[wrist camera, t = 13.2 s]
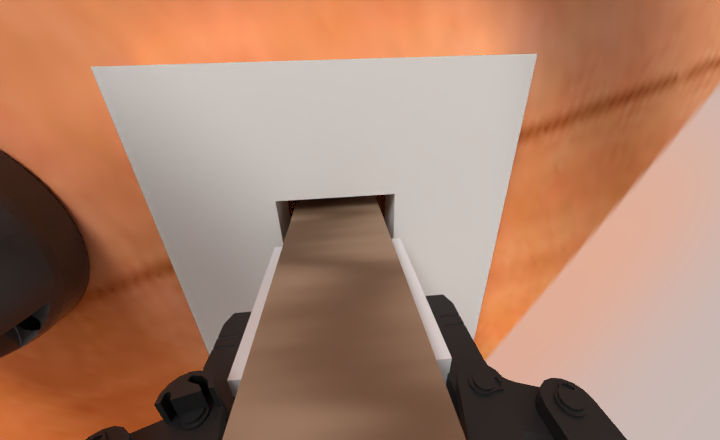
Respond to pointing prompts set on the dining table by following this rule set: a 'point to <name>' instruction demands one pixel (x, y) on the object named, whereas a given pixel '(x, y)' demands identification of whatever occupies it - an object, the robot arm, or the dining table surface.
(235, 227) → the socket plate
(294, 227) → the square peg
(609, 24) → the dining table surface
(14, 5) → the dining table surface
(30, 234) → the robot arm
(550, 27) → the dining table surface
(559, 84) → the dining table surface
